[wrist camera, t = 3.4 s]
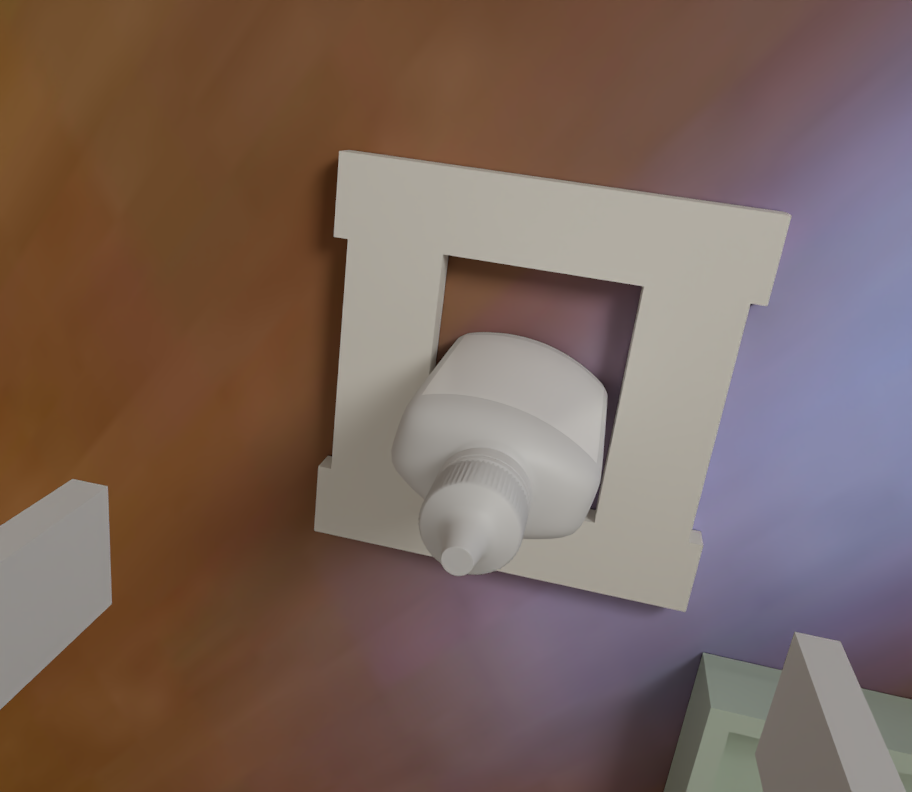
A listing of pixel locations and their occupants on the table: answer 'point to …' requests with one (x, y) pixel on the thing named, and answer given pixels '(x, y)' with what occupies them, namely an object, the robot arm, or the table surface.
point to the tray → (756, 728)
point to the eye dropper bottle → (501, 449)
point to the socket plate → (563, 251)
